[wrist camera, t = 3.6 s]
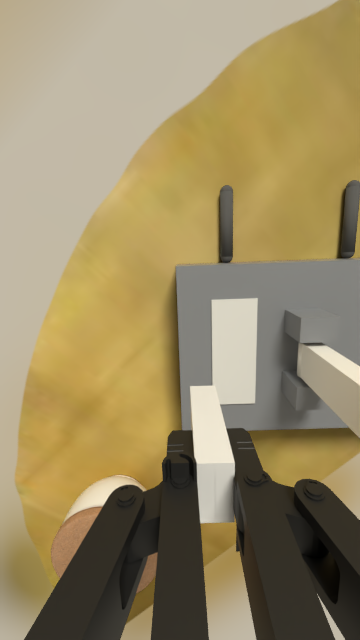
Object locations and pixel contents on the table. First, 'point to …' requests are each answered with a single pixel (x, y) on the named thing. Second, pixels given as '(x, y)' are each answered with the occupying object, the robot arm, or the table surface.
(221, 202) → the router antennas
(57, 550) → the lidded jar
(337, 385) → the breaker lever
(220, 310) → the breaker box
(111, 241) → the table surface
